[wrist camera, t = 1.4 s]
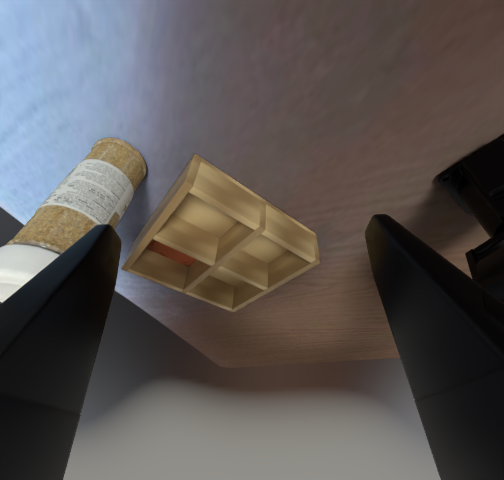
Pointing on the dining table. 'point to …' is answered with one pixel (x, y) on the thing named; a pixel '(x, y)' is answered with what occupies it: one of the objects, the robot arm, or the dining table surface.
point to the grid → (220, 241)
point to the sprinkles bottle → (73, 211)
